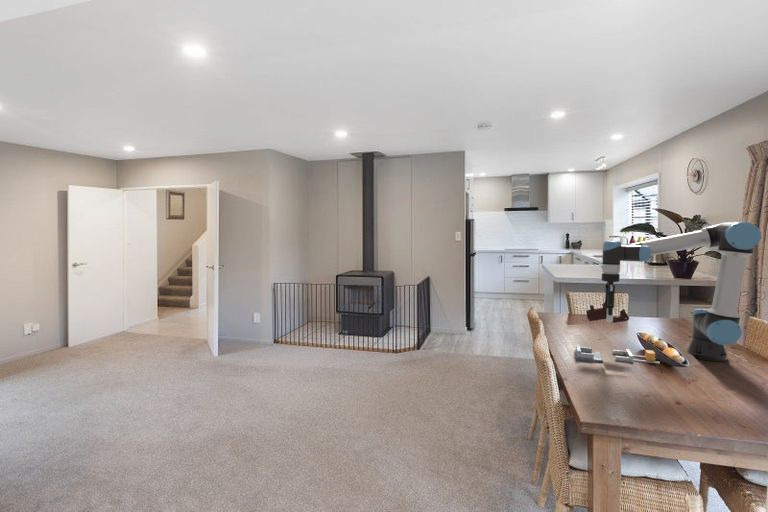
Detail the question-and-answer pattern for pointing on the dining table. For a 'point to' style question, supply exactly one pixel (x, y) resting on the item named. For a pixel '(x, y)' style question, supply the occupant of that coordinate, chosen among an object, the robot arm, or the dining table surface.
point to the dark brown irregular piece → (601, 314)
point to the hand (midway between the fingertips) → (608, 319)
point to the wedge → (649, 355)
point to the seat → (592, 356)
